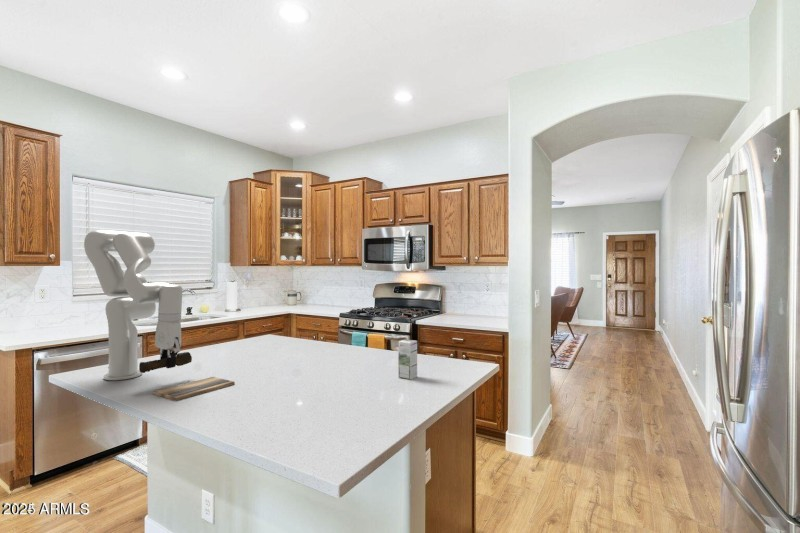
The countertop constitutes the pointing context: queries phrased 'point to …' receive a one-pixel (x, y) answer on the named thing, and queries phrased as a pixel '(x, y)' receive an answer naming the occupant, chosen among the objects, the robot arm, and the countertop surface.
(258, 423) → the countertop surface
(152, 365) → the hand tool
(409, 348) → the syrup box
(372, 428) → the countertop surface
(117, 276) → the robot arm
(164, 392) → the plywood panel
